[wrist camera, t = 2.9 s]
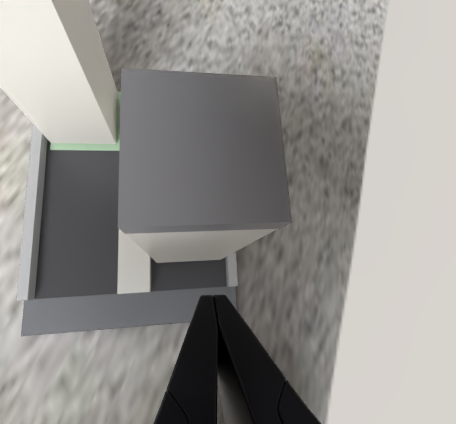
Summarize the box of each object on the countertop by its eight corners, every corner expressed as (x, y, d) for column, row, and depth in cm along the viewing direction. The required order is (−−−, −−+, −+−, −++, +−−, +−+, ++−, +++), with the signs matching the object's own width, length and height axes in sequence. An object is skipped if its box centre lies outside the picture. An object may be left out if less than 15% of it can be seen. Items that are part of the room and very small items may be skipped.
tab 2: (220, 260, 17) (292, 222, 6) (156, 263, 16) (117, 227, 6) (217, 200, 18) (276, 77, 7) (156, 201, 17) (120, 68, 6)
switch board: (235, 316, 17) (240, 320, 16) (26, 334, 15) (11, 339, 14) (222, 101, 20) (225, 88, 19) (46, 94, 18) (36, 78, 17)
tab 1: (116, 144, 17) (20, -69, 7) (51, 143, 17) (-165, -93, 6) (117, 91, 18) (33, -174, 8) (55, 88, 18) (-130, -203, 7)
